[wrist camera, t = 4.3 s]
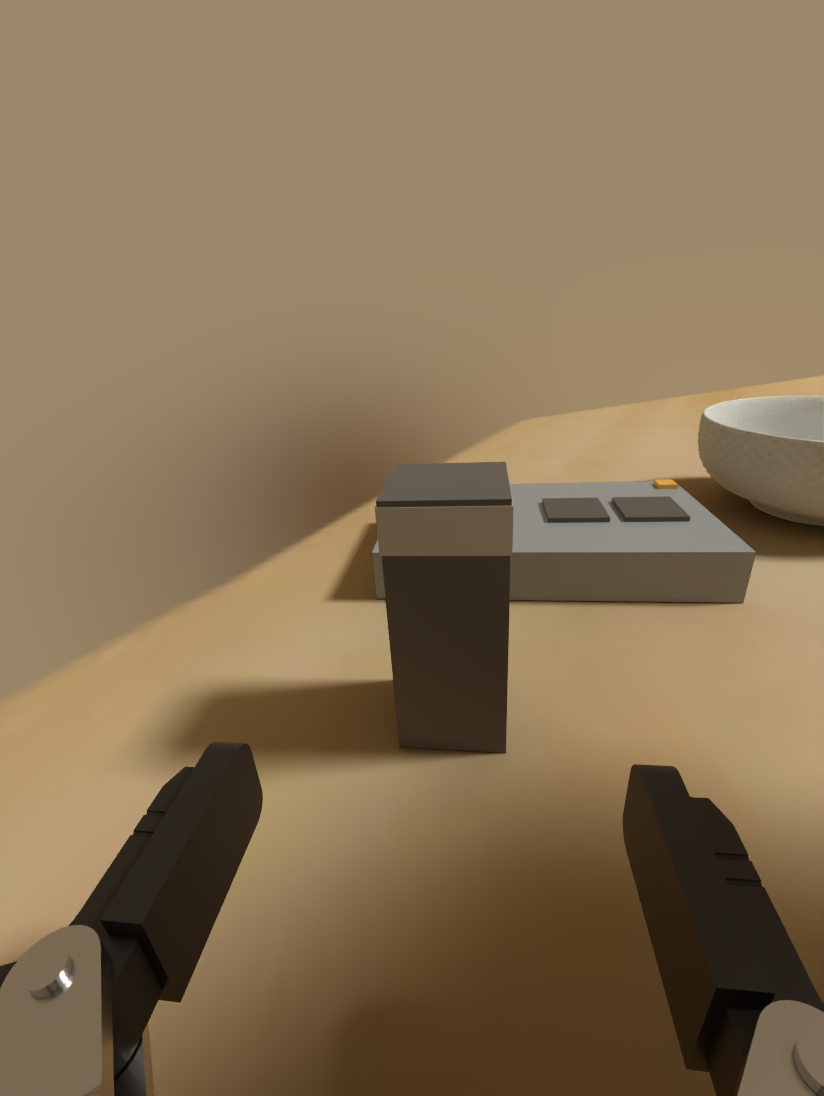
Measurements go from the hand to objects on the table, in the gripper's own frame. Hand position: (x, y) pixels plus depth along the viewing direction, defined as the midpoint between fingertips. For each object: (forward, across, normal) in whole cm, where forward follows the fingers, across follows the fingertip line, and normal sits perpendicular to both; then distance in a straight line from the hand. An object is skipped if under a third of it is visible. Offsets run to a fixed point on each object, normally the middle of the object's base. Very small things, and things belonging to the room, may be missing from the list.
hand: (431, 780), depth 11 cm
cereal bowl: (+31, -26, +6) cm, 41 cm away
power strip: (+23, -5, +6) cm, 25 cm away
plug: (+8, 0, +6) cm, 10 cm away
